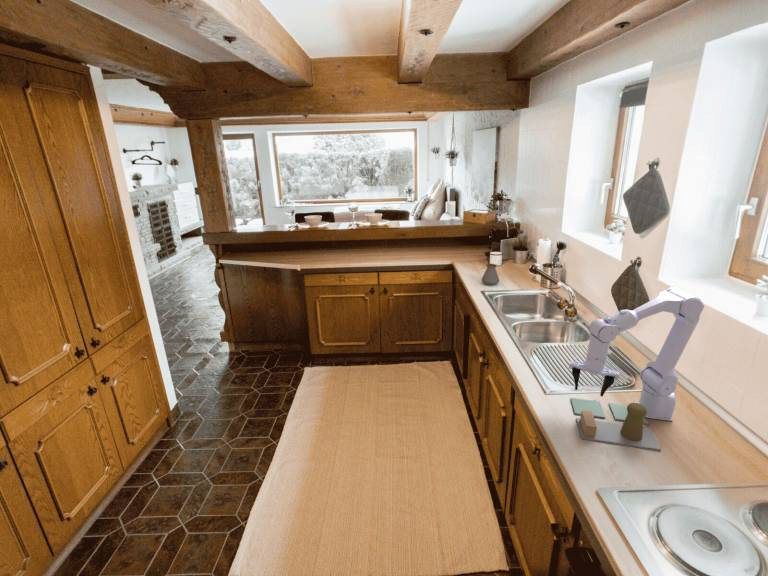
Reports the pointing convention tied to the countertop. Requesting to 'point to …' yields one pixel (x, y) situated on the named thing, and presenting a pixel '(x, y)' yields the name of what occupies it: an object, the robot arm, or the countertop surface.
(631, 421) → the olive rounded upright post
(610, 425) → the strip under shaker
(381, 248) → the countertop surface
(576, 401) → the pair of green tiles
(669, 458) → the countertop surface
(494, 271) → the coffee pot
